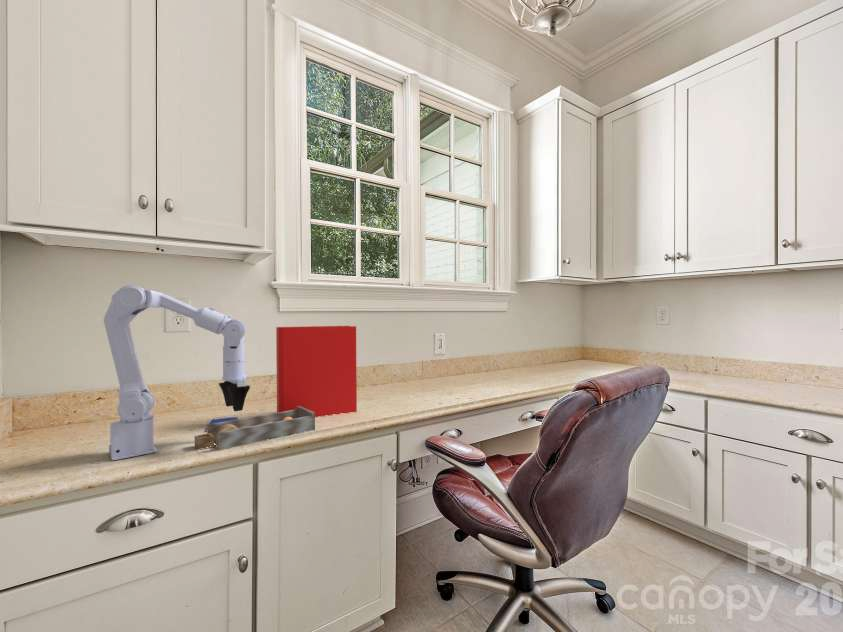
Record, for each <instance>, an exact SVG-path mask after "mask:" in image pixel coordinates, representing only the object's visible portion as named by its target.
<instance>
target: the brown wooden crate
mask: <svg viewBox="0 0 843 632" xmlns="http://www.w3.org/2000/svg"><path fill="white" fill-rule="evenodd" d="M195 446H196V447H195ZM210 446H214V447H215V445H214V436H213V435H212V434H211V433H208V434H207V433H204V434H196V435H194V447H195V449H196V450H197V449H201V448H205V449H207V448H206V447H210ZM210 448H211V447H210ZM201 450H202V449H201Z"/></svg>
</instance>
